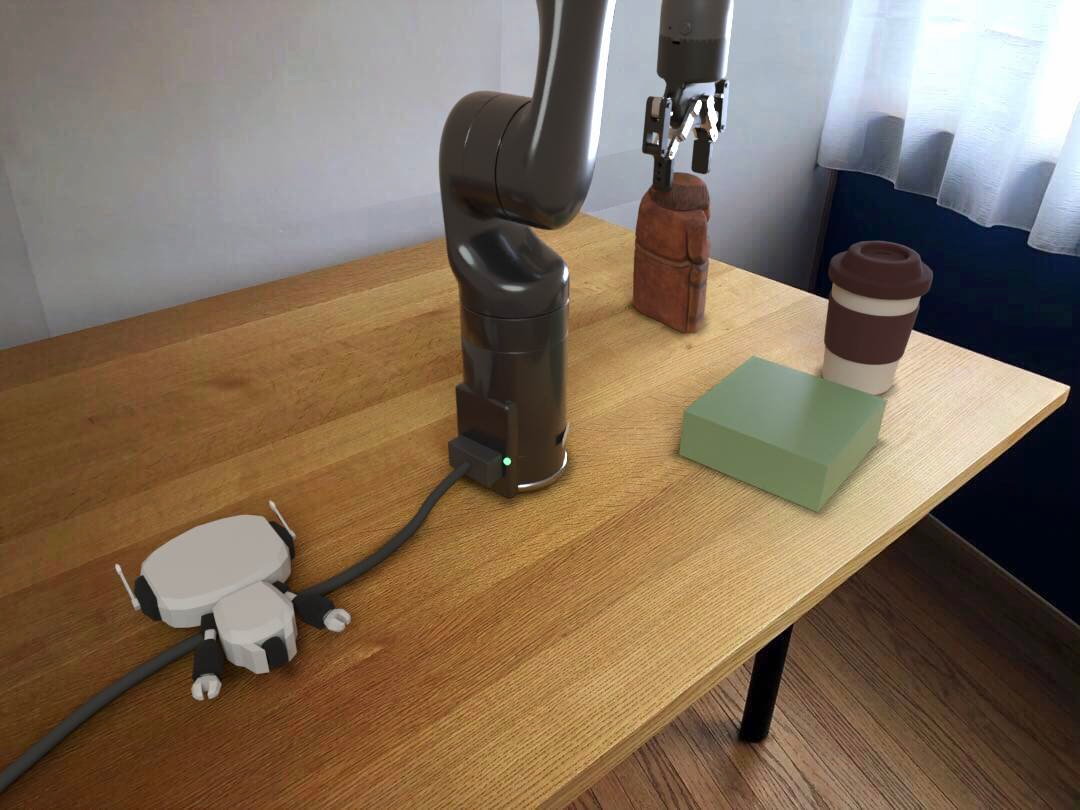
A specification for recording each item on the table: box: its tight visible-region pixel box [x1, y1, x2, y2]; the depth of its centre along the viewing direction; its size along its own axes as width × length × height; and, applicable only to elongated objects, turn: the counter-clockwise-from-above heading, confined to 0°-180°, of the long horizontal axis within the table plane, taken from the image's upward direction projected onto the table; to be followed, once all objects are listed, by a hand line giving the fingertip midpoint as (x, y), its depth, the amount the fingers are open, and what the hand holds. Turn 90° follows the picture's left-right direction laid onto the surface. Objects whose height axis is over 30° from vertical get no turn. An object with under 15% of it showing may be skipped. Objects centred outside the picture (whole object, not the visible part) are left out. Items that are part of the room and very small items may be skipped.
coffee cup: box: [821, 240, 934, 396], centre depth 91 cm, size 10×10×15 cm
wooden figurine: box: [632, 171, 712, 334], centre depth 104 cm, size 12×6×18 cm, turn 38°
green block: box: [678, 355, 888, 513], centre depth 82 cm, size 14×14×5 cm
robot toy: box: [114, 499, 352, 701], centre depth 63 cm, size 12×4×15 cm
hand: (681, 181), depth 100 cm, fingers open, 8 cm apart
